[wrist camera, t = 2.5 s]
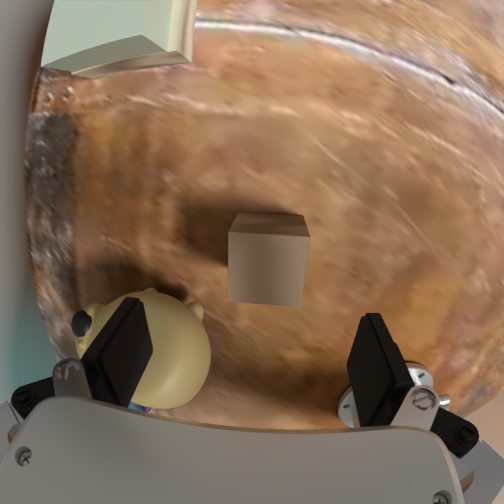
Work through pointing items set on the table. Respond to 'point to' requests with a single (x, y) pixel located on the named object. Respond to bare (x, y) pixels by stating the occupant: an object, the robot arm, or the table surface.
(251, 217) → the walnut cube
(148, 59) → the base block
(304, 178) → the table surface
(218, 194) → the table surface
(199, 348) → the toy frog
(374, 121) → the table surface
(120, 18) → the top block
